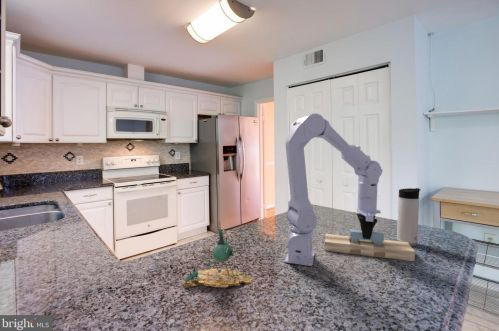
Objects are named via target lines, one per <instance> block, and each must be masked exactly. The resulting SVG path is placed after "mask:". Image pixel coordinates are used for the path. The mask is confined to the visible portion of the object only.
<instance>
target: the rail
mask: <svg viewBox="0 0 499 331" xmlns="http://www.w3.org/2000/svg"><path fill="white" fill-rule="evenodd" d="M324 251H328V252H336V253H342V254H353V255H359V256H361V255H362V256H367V257H374V258H375V257H377V258H384V259H385V258H386V259H392V260H402V261H410V262H415V259H416V258H415V257H416V251H415V250H414V249H413V246H410V245H409V244H408V242H400V241H397V240H390V239H389V240H388V239H384V242H382V244H381V245H374V241H369V240H359V239H358V243H354V242H352V239H350V235H339V234H330V233H325V236H324Z"/></svg>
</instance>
